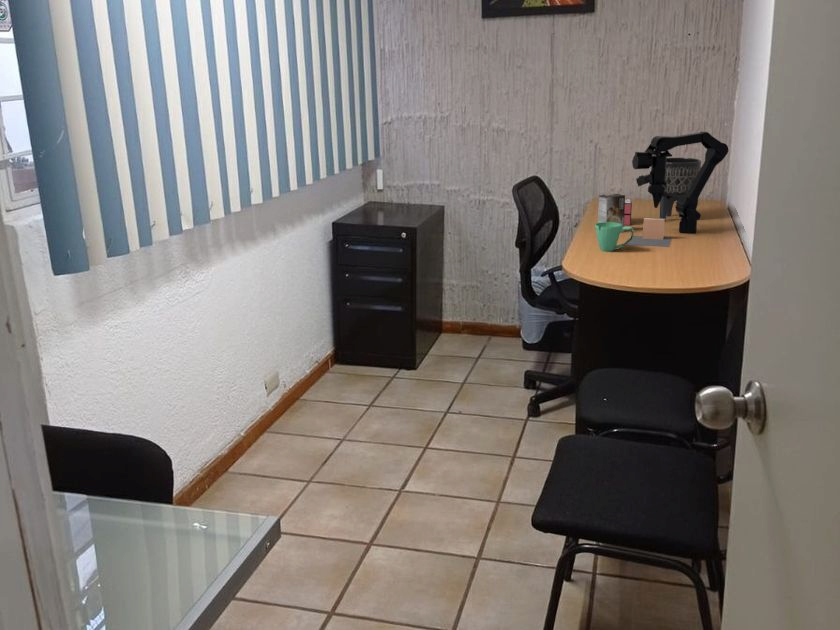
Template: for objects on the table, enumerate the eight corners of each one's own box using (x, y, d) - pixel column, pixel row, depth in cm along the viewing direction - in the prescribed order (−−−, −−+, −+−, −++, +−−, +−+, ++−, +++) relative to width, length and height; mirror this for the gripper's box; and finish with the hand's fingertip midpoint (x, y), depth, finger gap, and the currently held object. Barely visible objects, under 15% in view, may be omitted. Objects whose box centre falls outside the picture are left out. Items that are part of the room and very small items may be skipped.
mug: (592, 252, 311) (593, 226, 308) (596, 246, 319) (597, 221, 316) (632, 254, 306) (633, 228, 303) (634, 248, 315) (635, 223, 312)
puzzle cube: (630, 225, 357) (631, 203, 354) (607, 225, 359) (608, 202, 356) (629, 221, 366) (631, 199, 363) (607, 221, 368) (608, 199, 365)
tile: (663, 238, 328) (664, 218, 325) (663, 239, 326) (664, 219, 323) (643, 237, 330) (644, 218, 328) (642, 238, 328) (643, 219, 326)
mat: (671, 238, 329) (671, 237, 329) (669, 248, 313) (669, 246, 313) (631, 236, 335) (631, 235, 334) (626, 246, 318) (626, 244, 318)
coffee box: (615, 230, 347) (616, 193, 343) (624, 233, 342) (626, 195, 337) (596, 232, 344) (598, 195, 339) (605, 235, 338) (607, 197, 334)
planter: (700, 216, 371) (705, 158, 363) (692, 224, 355) (697, 163, 347) (656, 214, 380) (660, 156, 372) (647, 221, 364) (650, 162, 356)
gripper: (640, 164, 339) (638, 202, 344) (635, 170, 322) (633, 210, 327) (667, 165, 335) (665, 203, 340) (665, 171, 319) (662, 210, 323)
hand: (656, 206), depth 333 cm, fingers open, 5 cm apart
